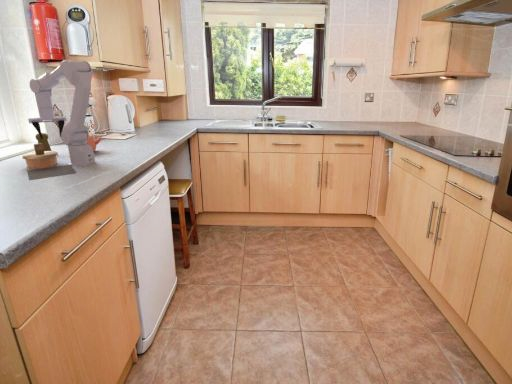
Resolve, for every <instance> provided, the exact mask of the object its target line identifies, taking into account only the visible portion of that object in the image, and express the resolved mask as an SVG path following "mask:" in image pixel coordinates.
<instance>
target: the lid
mask: <svg viewBox="0 0 512 384" xmlns="http://www.w3.org/2000/svg"><path fill="white" fill-rule="evenodd" d="M33 147H34V152H29V153H24V154H22V156H21V157H22V159H23V160H25V159H28V160H35V159H45V158H50V157H54V156H56V157H57V156H58V155H59V153H58V151H54V150H52V151H44V149H43V144H42V143H39V144H38V143H34V144H33Z"/></svg>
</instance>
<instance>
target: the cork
mask: <svg viewBox="0 0 512 384" xmlns="http://www.w3.org/2000/svg"><path fill="white" fill-rule="evenodd" d="M41 134H42V137H43V139H41V138H40V135H39V133H36V134H35V140H37V144H39V143H42V144H43V149H44V151H53V150H52V148H51V146H50V143H49V140H48V139H49V135H48V133H45V132H41Z"/></svg>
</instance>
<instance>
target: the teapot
mask: <svg viewBox="0 0 512 384" xmlns="http://www.w3.org/2000/svg"><path fill="white" fill-rule="evenodd" d="M102 140H103V137H101V136H99V137H98V138H97V139H96V140H95V137H94V134H92V133H89V139H88V141H87V143H86V144H87V145H90V146H92V148H93V151H94V152H95V151H96V149H97V146H98V144H99V143H100V142H101V141H102Z"/></svg>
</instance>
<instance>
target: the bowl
mask: <svg viewBox="0 0 512 384" xmlns="http://www.w3.org/2000/svg"><path fill="white" fill-rule="evenodd" d="M24 161H25V164H26V167H27V168H29V169H40V168H47V167H55V166H56V165H57V164H58V159H57V156H54V157H50V158H45V159H35V160H28V159H24Z"/></svg>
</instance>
